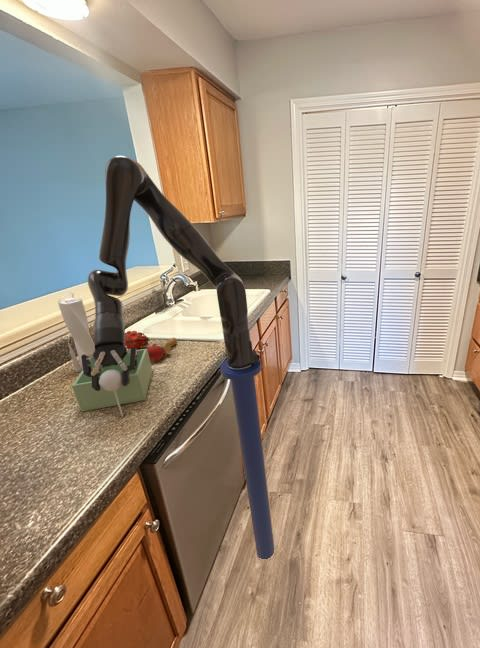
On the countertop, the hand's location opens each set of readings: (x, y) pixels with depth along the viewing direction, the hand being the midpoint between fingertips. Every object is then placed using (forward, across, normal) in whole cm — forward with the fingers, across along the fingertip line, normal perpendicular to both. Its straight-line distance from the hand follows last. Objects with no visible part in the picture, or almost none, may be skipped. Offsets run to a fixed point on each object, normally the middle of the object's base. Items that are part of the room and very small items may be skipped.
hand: (111, 387), depth 87 cm
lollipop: (+6, 0, +9) cm, 11 cm away
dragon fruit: (-29, -4, +45) cm, 54 cm away
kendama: (-23, +8, +38) cm, 45 cm away
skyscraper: (-22, -19, +37) cm, 47 cm away
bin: (-6, -4, +21) cm, 22 cm away
